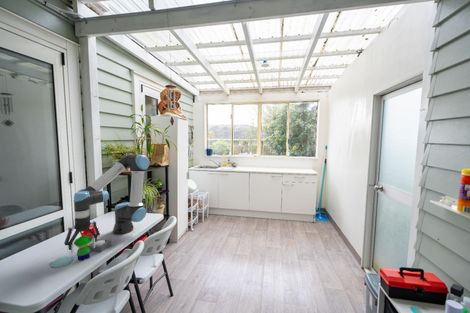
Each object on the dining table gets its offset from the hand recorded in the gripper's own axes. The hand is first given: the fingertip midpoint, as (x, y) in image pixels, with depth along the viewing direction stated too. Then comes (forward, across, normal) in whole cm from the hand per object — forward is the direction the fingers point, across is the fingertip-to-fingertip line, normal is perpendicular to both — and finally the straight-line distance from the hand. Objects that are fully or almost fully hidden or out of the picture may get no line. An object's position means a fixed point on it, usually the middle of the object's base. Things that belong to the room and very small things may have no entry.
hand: (83, 250), depth 123 cm
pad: (+5, +9, -6) cm, 12 cm away
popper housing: (+5, -11, -7) cm, 14 cm away
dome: (+4, -11, -7) cm, 14 cm away
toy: (+6, 0, 0) cm, 6 cm away
